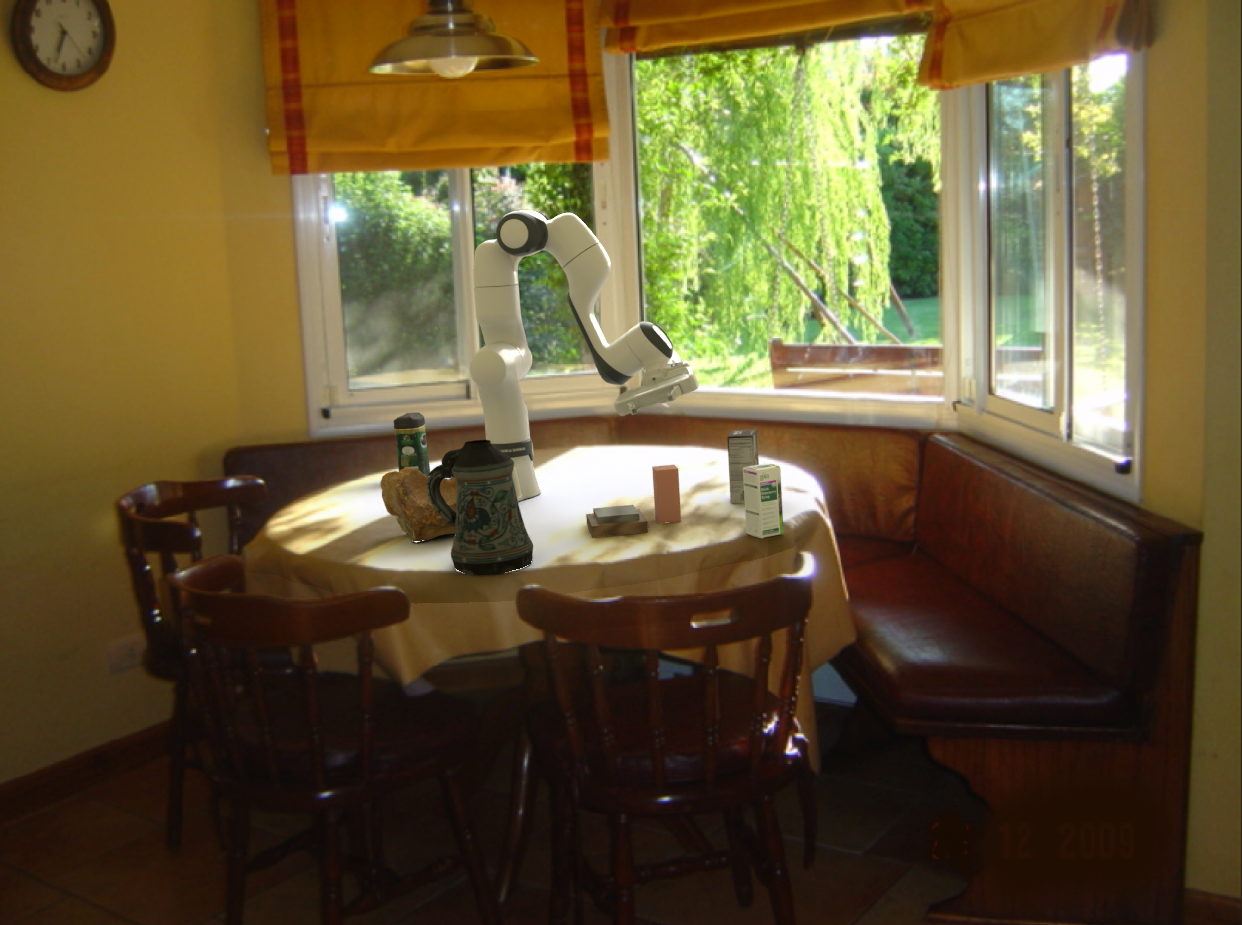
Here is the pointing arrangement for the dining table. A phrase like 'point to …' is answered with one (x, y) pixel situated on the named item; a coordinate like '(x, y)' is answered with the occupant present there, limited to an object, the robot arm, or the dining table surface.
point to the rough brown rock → (417, 503)
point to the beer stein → (482, 510)
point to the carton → (666, 493)
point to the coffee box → (741, 459)
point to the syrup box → (763, 500)
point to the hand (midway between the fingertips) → (652, 404)
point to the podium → (616, 521)
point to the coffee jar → (412, 442)
